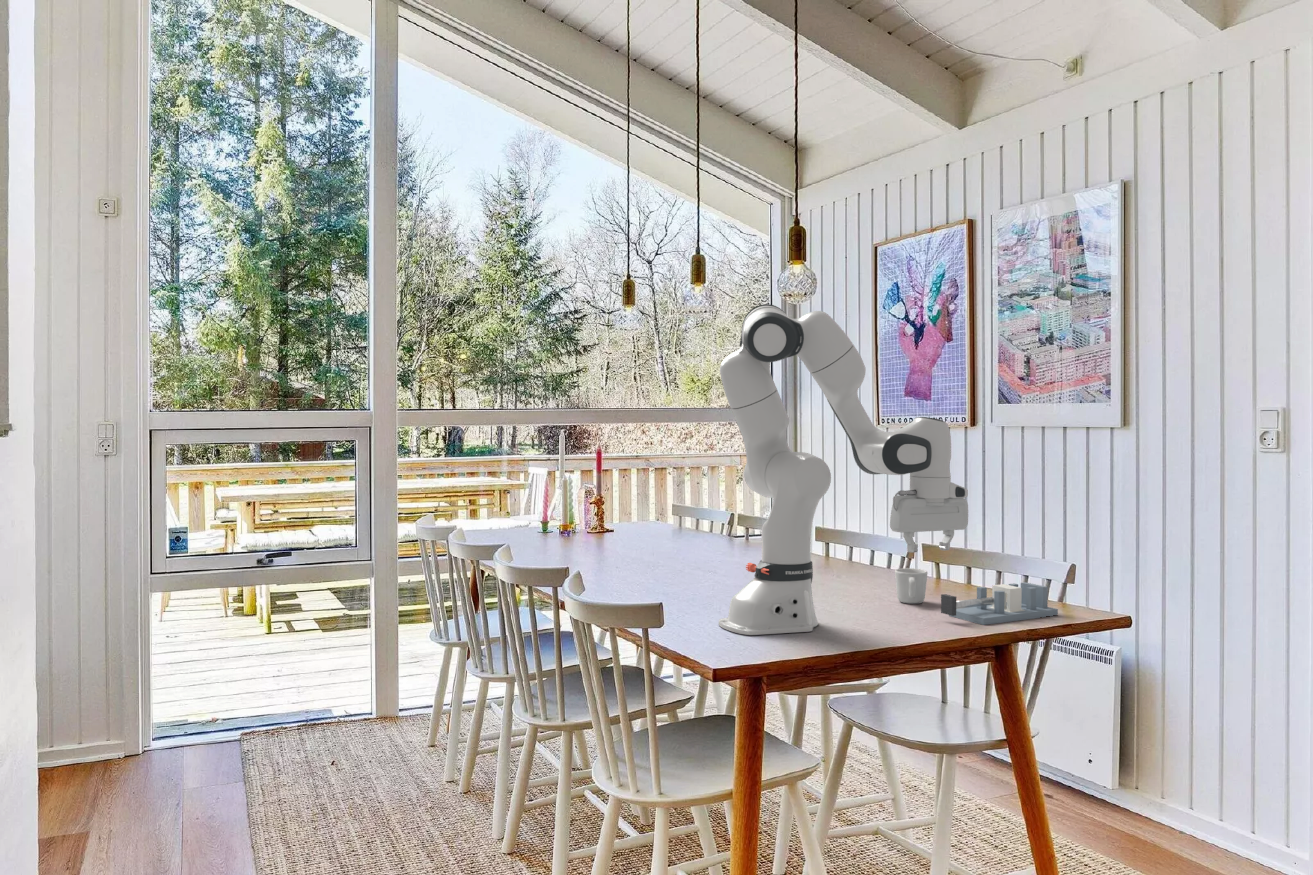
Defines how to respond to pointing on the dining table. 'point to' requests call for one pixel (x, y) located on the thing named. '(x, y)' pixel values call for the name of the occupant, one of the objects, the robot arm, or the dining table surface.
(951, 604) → the shaft
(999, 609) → the block
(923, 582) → the cup
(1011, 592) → the bracket
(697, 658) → the dining table surface
